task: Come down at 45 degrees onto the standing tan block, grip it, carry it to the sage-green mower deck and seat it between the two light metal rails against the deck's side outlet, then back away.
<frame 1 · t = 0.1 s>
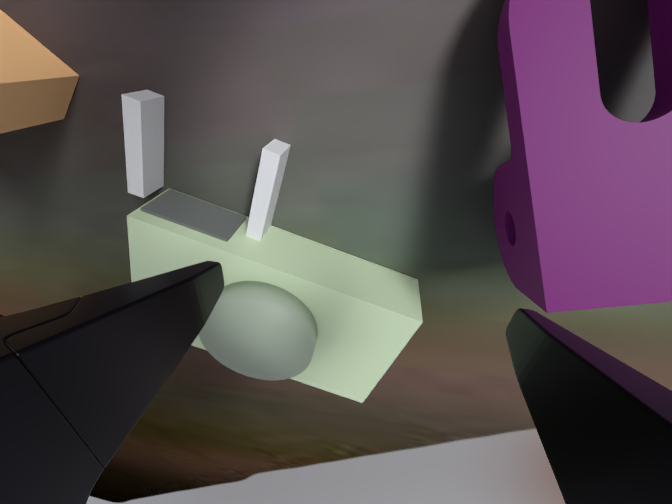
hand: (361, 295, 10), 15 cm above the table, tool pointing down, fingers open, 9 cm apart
tan block: (33, 67, 22), on the table
deck: (214, 170, 24), on the table
mounting bracket: (574, 103, 19), on the table
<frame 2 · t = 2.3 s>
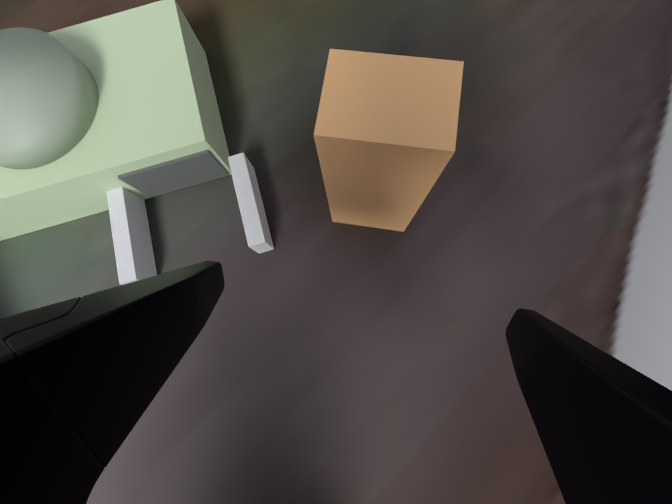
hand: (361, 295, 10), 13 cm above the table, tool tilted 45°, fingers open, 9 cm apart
tan block: (371, 202, 24), on the table
deck: (199, 219, 25), on the table
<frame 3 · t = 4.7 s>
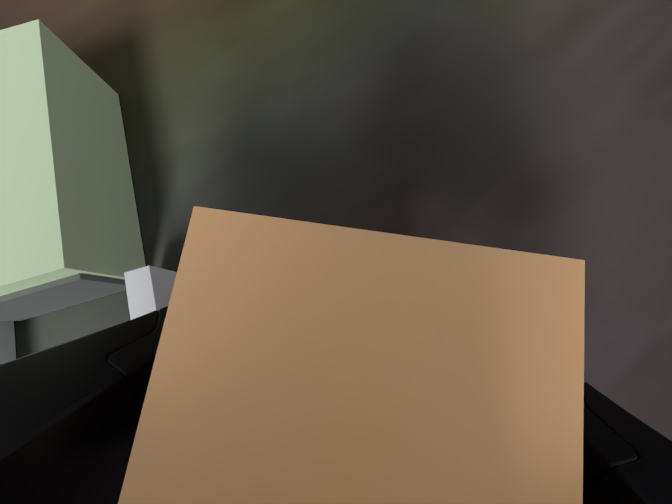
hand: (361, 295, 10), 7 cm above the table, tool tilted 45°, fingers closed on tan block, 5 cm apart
tan block: (354, 331, 16), on the table, touching gripper
deck: (92, 355, 16), on the table
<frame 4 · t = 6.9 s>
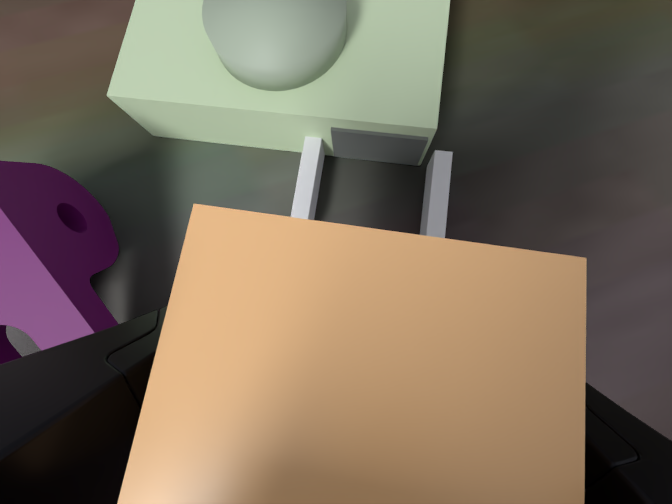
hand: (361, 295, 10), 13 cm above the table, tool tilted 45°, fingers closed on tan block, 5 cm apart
tan block: (354, 330, 16), point 7 cm above the table, touching gripper
deck: (370, 196, 24), on the table
mounting bracket: (82, 320, 24), on the table
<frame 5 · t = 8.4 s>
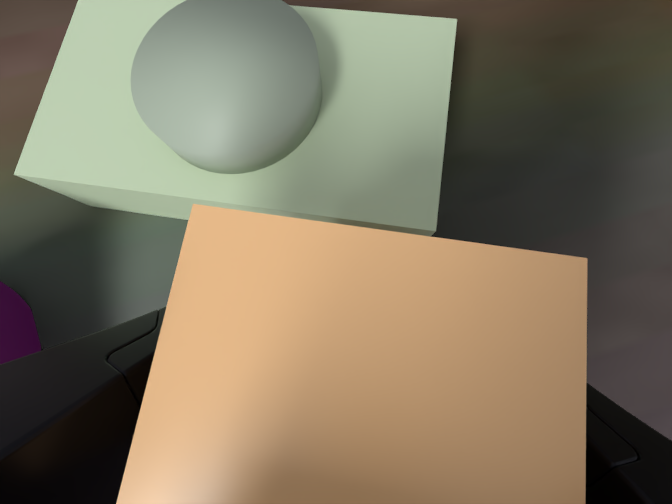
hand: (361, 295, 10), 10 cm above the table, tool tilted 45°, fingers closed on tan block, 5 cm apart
tan block: (354, 330, 16), point 3 cm above the table, touching gripper
deck: (353, 290, 19), on the table
when the fingers open (8 cm above the table, at t = 9.4 s): tan block drops 1 cm, on the table.
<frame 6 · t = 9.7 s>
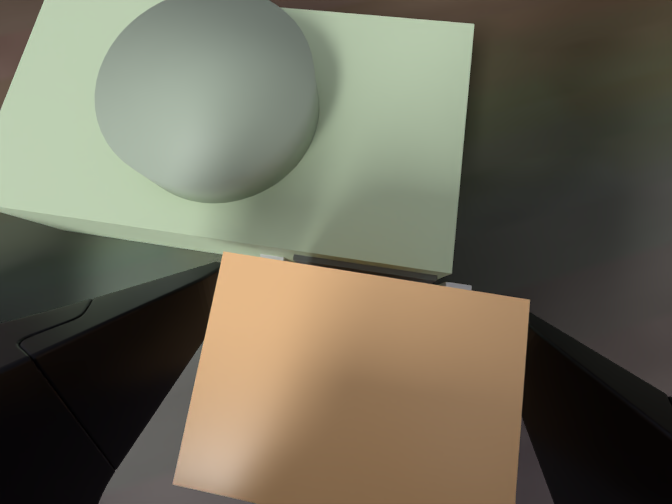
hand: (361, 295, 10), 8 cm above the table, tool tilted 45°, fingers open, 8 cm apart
tan block: (353, 328, 17), on the table
deck: (353, 329, 17), on the table
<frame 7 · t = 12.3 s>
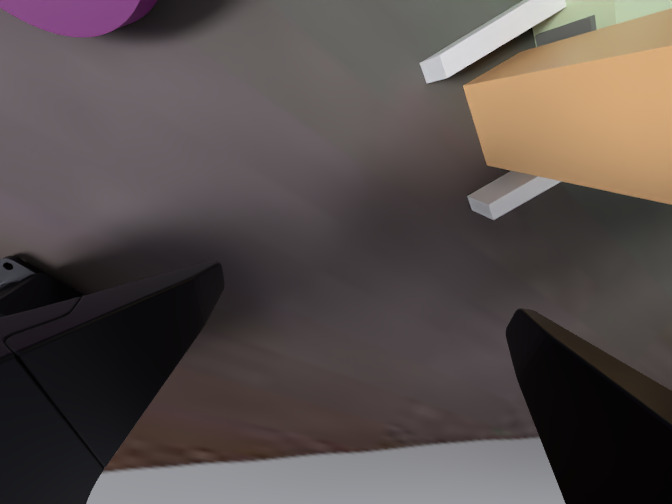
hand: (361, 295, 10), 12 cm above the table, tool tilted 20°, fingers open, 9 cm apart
tan block: (502, 111, 20), on the table
deck: (502, 112, 20), on the table
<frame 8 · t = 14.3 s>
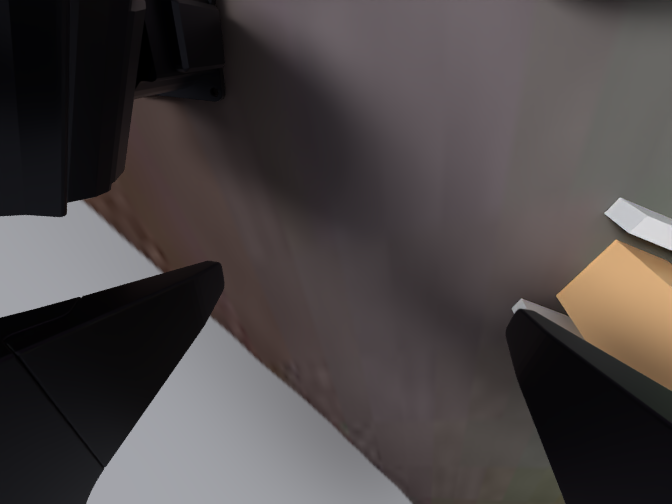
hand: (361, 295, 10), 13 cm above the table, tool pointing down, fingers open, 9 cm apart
tan block: (608, 279, 22), on the table
deck: (607, 279, 22), on the table
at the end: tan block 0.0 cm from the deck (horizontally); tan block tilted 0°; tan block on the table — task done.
